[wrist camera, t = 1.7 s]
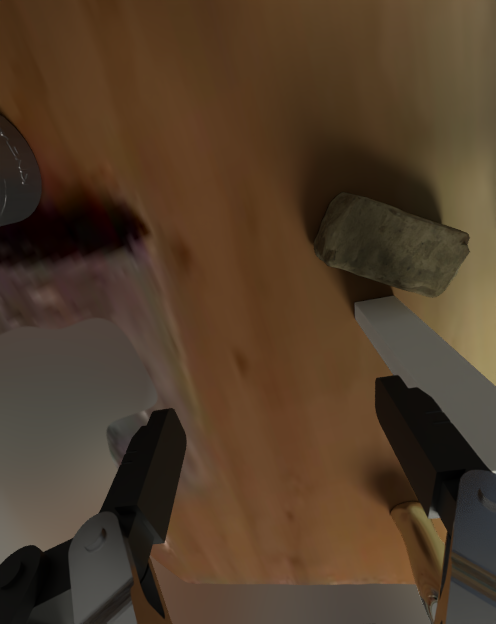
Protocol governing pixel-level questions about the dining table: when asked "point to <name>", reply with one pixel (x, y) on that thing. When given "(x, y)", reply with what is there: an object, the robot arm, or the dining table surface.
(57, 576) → the robot arm
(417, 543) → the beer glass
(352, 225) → the stone block
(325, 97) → the dining table surface
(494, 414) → the door frame
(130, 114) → the dining table surface
